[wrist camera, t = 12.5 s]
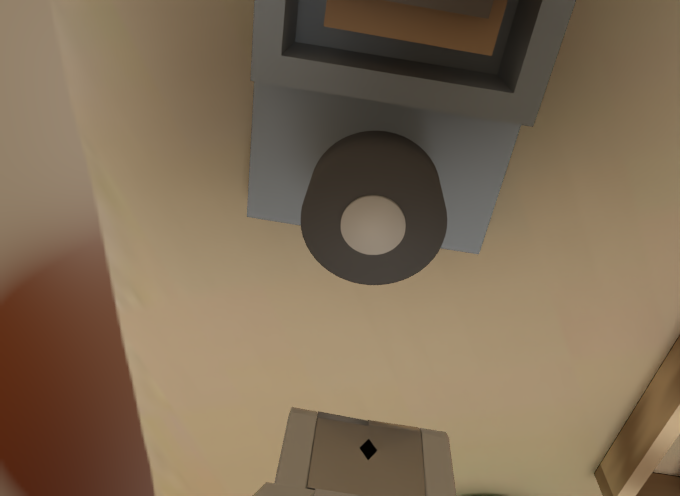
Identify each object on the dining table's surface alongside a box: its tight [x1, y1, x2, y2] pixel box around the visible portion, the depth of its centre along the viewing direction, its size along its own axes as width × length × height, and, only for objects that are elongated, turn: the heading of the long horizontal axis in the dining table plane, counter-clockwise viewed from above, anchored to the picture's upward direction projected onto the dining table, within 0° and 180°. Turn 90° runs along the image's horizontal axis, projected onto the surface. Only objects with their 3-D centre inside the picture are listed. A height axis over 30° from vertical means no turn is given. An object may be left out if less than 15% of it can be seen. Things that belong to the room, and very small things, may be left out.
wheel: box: [301, 131, 447, 285], centre depth 19 cm, size 5×5×3 cm
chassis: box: [247, 0, 576, 254], centre depth 19 cm, size 17×11×5 cm, turn 172°
